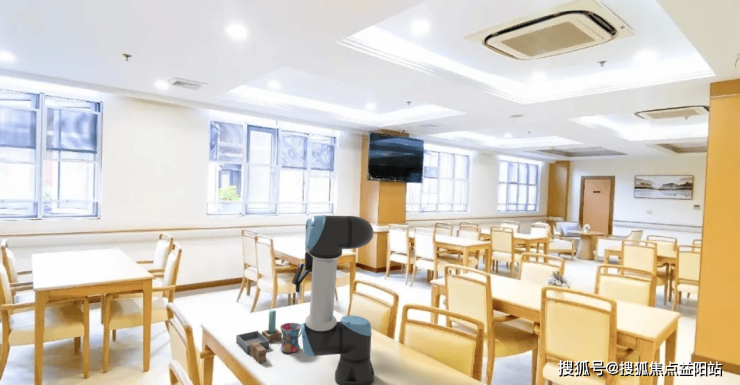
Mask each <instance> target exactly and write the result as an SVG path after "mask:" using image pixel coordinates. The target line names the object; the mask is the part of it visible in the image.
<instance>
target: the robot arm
mask: <svg viewBox="0 0 740 385" xmlns="http://www.w3.org/2000/svg"><path fill="white" fill-rule="evenodd" d="M373 238H374V228H373V226H372V224H371V223H370V222H369V221H367V220H366V219H365V218H364V217H359V216H355V215H325V214H323V215H312V216H311V217H310V218H307V220H305V240H304V241H305V242H304V247H305V248H304V249H305V250H304V251H305V253H304V263H303V262H299V263H298V265H297V266H298V268H297V270H296V272H295V275H294V276H293V279H292V280H291V284H293V285H295V292H296V299H297V300H302V292H303V291H302V288H303V286H302V283H303V281H304V280H305V278H306V277H307V275H308V274H309V273H311V285H310V286H311V288H310V289H311V290H310V306H309V307H310V308H309V315H307V316H306V318H305V322H303V323H301V324H300V325H301V329H300V332H302V333H301V340H302V348H303V349H302V350H303V354H304V356H306V357H319V356H320V357H321V356H331V355H332V356H333V355H339V360H338V364H337V367H336V369H335V372H334V381H335V383H336V385H372V384H373V383H374V381H375V371H374V367H373V364H372V359H371V351H372V350H371V349H372V348H371V347H372V334H373V333H372V324H371V322H370V320H368V319H367V318H364V317H362V316H358V315H352V314H351V315H343V316H341V319H340V321H337V318H336V317H335V316H334V311H335V310H334V309H335V298H336V297H335V295H336V282H337V281H336V279H337V268H338V259H339V258H341V256H343V250H351V249H353V250H354V249H355V250H356V249H359V248H362V247H365V246H367V245H368V244H369V243H370V242H372V239H373Z"/></svg>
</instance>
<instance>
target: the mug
mask: <svg viewBox="0 0 740 385" xmlns="http://www.w3.org/2000/svg"><path fill="white" fill-rule="evenodd" d="M279 328H280V332H281V333H282V341H281V342H282V343H281V346H280V347H279V348H280V350H281V352H283V353H289V354H291V353H296V352H298V351H299V350H300V348H301V346H300V344H299V343H300V342H299V338H300V336H302V332H301V324H300V323H297V322H287V323H283V324H281V325H280V326H279Z"/></svg>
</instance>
